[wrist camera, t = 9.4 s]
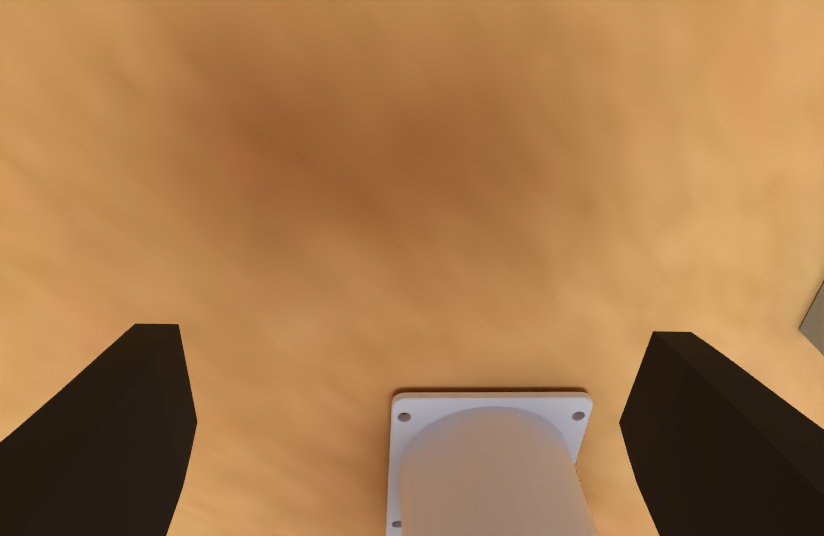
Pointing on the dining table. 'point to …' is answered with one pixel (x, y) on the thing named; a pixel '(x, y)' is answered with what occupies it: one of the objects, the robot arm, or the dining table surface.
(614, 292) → the dining table surface
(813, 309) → the grey rod frame
